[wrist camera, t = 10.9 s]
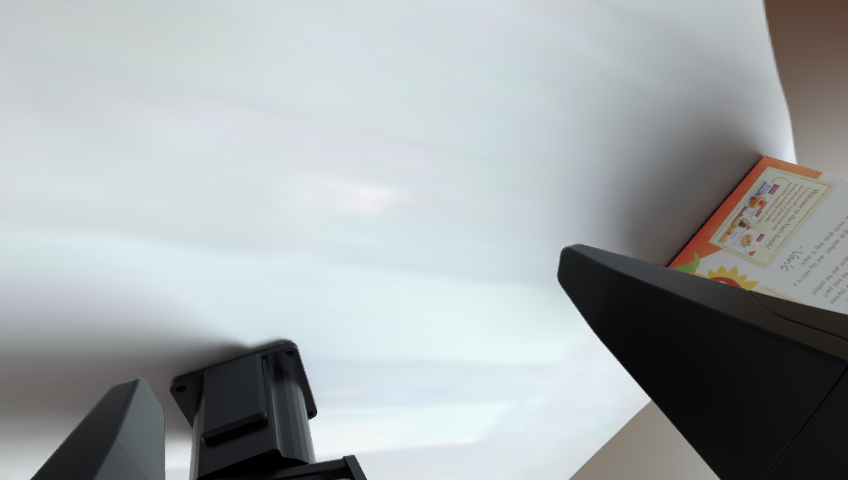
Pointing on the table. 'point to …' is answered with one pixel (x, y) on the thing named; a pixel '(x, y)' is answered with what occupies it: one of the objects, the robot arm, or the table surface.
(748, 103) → the table surface
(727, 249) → the cracker box
